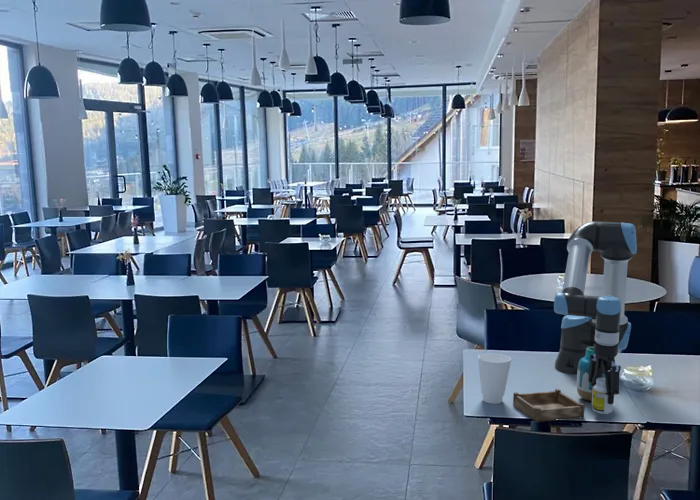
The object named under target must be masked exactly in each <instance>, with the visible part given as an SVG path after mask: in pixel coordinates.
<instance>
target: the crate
mask: <svg viewBox="0 0 700 500" xmlns="http://www.w3.org/2000/svg"><path fill="white" fill-rule="evenodd" d="M561 391H562V390H560V389H559V388H557V389H554V390H552V391H551V390H550V391H541V392H540V391H538V392H537V391H536V392H524V393H519V392H517V391H516V392H513V397H512V399H513V402H512V406H514V407H515V409H516V408H517V410H519V411H521V412H522V414H524V415H526V416H527V417H528V418H530V419H532V420H533V421H534V422H536V423H542V422H553V421H554V422H555V421H557V420H556V419H566V420H573V419H574V420H575V418H576V419H581V418H580V417H584V418H585V410H586V409H585V404H584V403H580V402H579V401H577V400H574V399H573V398H572V397H569V396H568V395H566V394H565V393H563V392H561Z"/></svg>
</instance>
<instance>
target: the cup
mask: <svg viewBox="0 0 700 500" xmlns="http://www.w3.org/2000/svg"><path fill="white" fill-rule="evenodd" d="M477 360H478V371H479V379H480V380H479V381H480V390H481V394H482V401H483V402H485V403H487V404H493V405H496V404H498V405H499V404H501V403H502V402H503V398H504V396H505V393H506V388H507V384H508V383H507V382H508V377H509V372H510V367H511V363H512V358H511V357H510V356H508V355H505V354H501V353H496V352H495V353H494V352H491V353H490V352H489V353H487V352H486V353H482V354H480V353H479V354H478V356H477Z"/></svg>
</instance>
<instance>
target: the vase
mask: <svg viewBox="0 0 700 500" xmlns="http://www.w3.org/2000/svg"><path fill="white" fill-rule="evenodd" d="M590 355H595V353H594V347H588V348H587V349H586V355H585V357H583V358H581V359H580V361H579V364H578V370H577V374H576V389H577V391H576V392H577V394H578V396H579V397H580V398H581V399H584V400H586V401H589V402H592V385H591V382H589V381H588V377H589V369H590ZM602 378H605V374H604V373H603V374H602Z"/></svg>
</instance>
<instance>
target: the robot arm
mask: <svg viewBox="0 0 700 500" xmlns="http://www.w3.org/2000/svg"><path fill="white" fill-rule="evenodd" d="M637 247H638V245H637V230H636V226H635V224H633V223H630V222H629V223H627V222H615V221H614V222H613V221H595V220H594V221H593V220H592V221H588V222H585V223H583V224H581V225H580V226H579V227H577V228H575V230H574V231H573V232H572V233H571V235H570V236H569V238H568V240H567V245H566V250H567V252H568V255H567V261H566V267H565V272H564V279H563V285H562V291H561V292H557V293H555V295H554V301H553V311H554V313H555V314H558V315H564V316H563V317H562V320H561V326H560V329H561V333H560V345H559V351H558V354H557V356H556V359H555V360H554V368H555V369H556V370H558V371H559V372H562V373H567V374H570V375H571V374H572V375H577V370H578V364H579V361H580V359H581V358H583V357H585V355H586V349H587V348H588V347H594V353H595V355H590V369H589V377H588V381H589V382H591V385H592V401H591V404H592V403H593V388H594V386H595V385H596V379H597V378H602V374H603V373H604V374H605V381H606V389H607V393H605V403H604V413H608V414H610V413H613V407H614V405H613V404H614V403H615V396H617V395H620V377H621V376H620V373H621V369H622V366H621V365H617V364H616V360H615V358H616V357H617V356H618V353H619V351H624V350H626V348H627V347H628V344H629V340H630V335H631V329H632V324H631V322H629V321H628V319H629V318H628V317H627V316H626V315H625V305H626V303H625V302H626V293H627V292H626V291H627V277H628V264H629V261H630V260H631V259H632V258H633V255H636V254H637V252H638V251H637V250H638V248H637ZM593 252H600V257H601V258H602V259H603V260H604V262H603V263H604V264H603V275H602V277H603V279H602V291H601V292H602V294H601V296H595V295H587V294H586V295H585V291H586V290H585V289H586V281H587V274H588V268H589V262H590V261H589V260H590V255H592V253H593ZM610 390H611V391H610Z"/></svg>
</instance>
